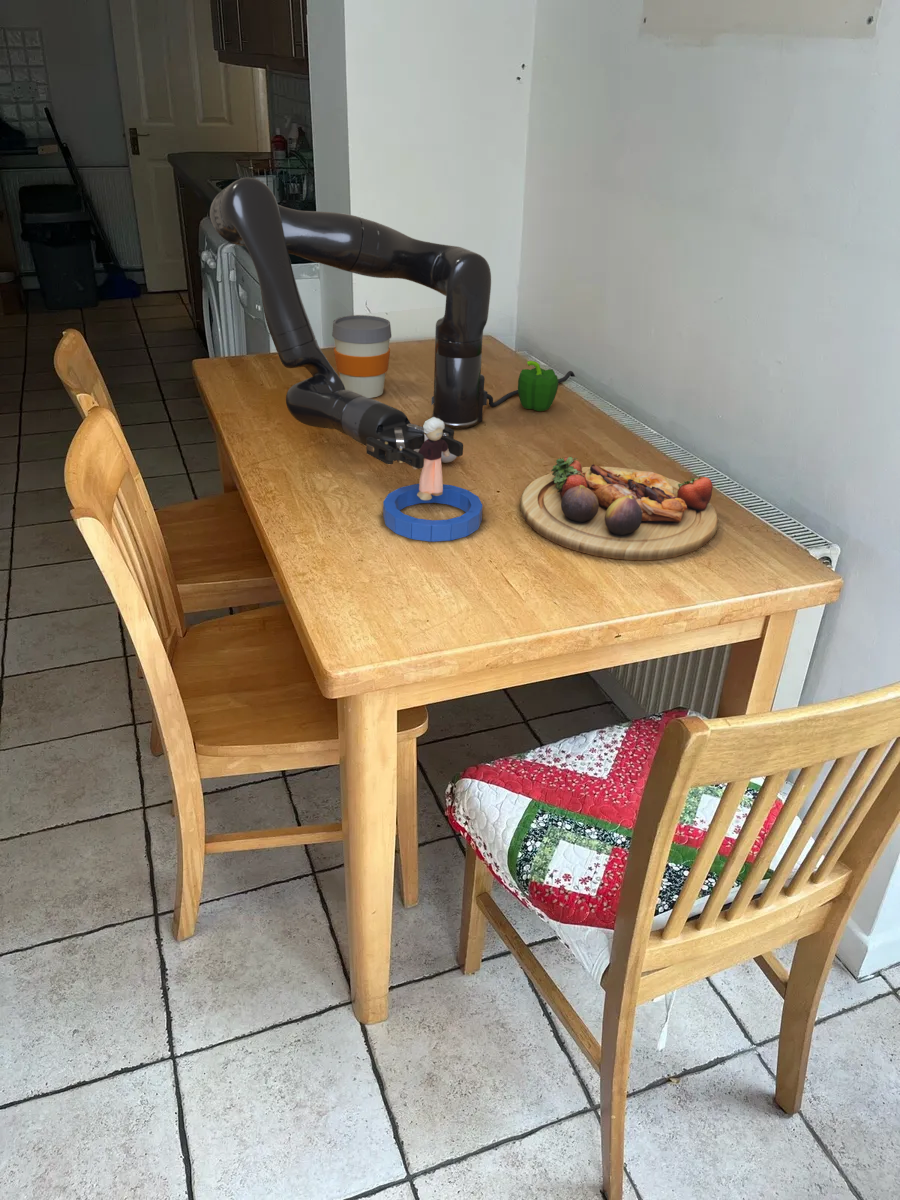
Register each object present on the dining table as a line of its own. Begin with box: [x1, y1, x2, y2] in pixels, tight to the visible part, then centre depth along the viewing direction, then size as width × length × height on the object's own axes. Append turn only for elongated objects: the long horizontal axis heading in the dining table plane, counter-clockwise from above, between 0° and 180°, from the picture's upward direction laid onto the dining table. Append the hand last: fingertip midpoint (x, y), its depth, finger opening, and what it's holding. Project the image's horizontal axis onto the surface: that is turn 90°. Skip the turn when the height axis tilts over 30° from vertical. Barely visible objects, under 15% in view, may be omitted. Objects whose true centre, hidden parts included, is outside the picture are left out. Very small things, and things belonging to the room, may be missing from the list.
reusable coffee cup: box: [331, 314, 392, 399], centre depth 195 cm, size 13×13×15 cm
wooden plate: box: [519, 456, 719, 561], centre depth 147 cm, size 32×32×8 cm
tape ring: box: [382, 483, 484, 543], centre depth 145 cm, size 16×16×3 cm
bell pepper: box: [517, 360, 559, 412], centre depth 191 cm, size 8×8×10 cm
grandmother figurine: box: [411, 416, 450, 500], centre depth 140 cm, size 8×4×13 cm, turn 148°
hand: (442, 456), depth 139 cm, fingers closed on grandmother figurine, 7 cm apart
